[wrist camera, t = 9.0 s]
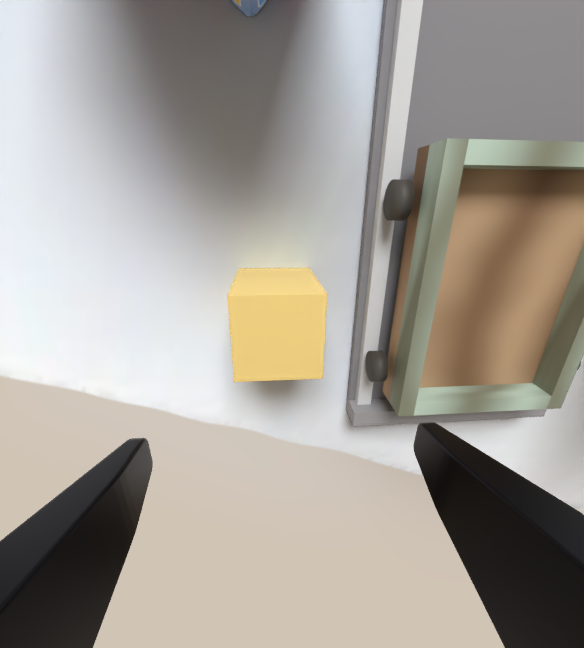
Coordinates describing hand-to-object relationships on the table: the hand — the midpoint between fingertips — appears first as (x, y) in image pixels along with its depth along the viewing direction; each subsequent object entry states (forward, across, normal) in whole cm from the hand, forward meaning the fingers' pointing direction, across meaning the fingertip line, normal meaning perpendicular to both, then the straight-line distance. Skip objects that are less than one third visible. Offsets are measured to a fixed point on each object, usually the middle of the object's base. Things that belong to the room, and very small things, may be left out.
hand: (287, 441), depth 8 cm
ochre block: (+13, 0, 0) cm, 13 cm away
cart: (+11, -13, -1) cm, 17 cm away
